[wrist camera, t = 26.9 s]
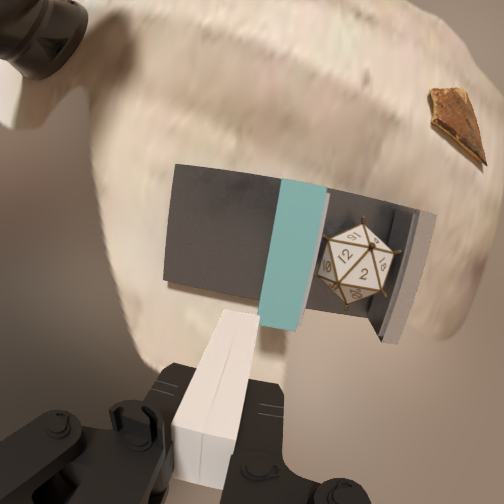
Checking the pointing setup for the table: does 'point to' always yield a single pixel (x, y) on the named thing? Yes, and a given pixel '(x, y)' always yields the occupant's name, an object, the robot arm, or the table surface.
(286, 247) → the block
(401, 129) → the table surface
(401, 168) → the table surface
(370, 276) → the game die
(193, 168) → the vise bed
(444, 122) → the shard
